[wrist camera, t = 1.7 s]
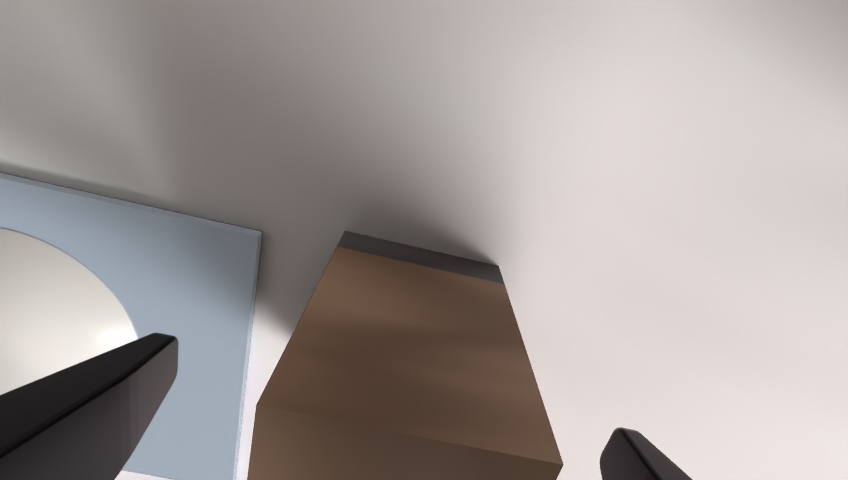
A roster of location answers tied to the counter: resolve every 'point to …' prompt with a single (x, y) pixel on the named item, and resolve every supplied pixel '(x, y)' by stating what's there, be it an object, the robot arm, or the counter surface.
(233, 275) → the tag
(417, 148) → the counter surface
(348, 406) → the stamp
